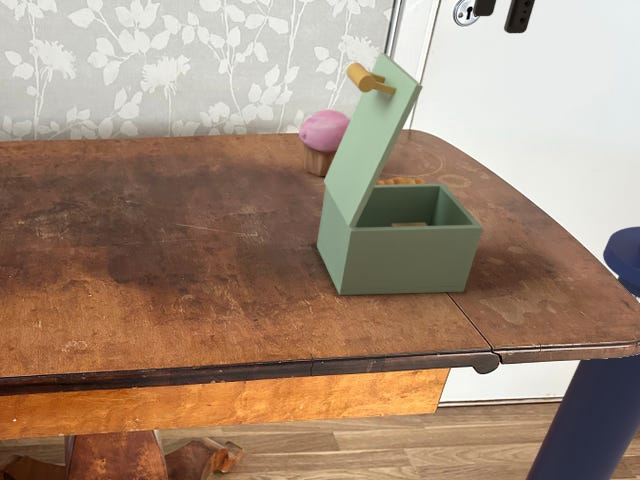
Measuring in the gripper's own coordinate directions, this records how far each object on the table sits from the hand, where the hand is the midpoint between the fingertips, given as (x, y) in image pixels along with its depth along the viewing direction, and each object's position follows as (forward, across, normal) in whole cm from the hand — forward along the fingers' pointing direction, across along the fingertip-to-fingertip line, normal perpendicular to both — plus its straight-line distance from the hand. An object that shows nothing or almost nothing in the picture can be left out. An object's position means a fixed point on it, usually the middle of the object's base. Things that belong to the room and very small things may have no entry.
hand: (497, 23), depth 80 cm
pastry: (+28, +13, +2) cm, 31 cm away
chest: (+28, -6, +9) cm, 30 cm away
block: (+27, -6, +6) cm, 29 cm away
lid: (+11, -6, +14) cm, 19 cm away
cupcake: (+28, +26, +10) cm, 39 cm away
